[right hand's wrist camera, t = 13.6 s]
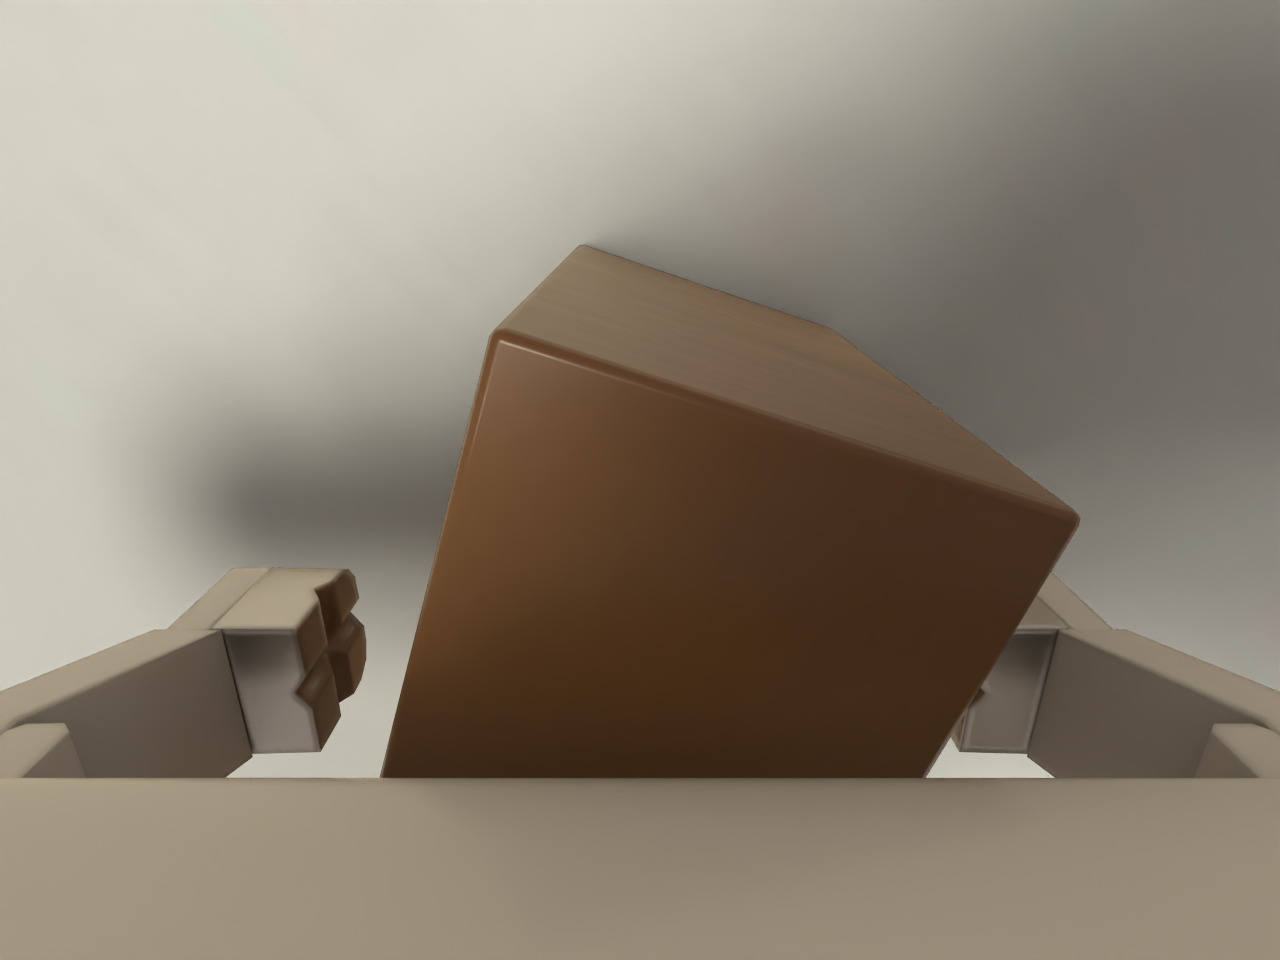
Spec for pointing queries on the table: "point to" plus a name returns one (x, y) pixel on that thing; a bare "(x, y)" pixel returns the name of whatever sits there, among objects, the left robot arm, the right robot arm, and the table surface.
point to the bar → (708, 550)
